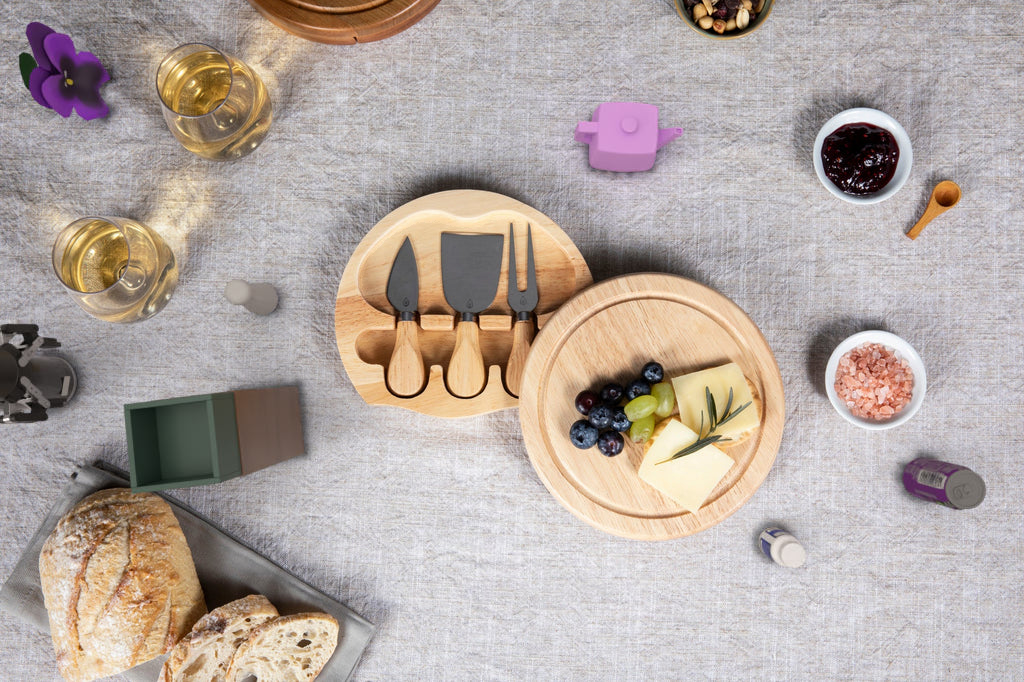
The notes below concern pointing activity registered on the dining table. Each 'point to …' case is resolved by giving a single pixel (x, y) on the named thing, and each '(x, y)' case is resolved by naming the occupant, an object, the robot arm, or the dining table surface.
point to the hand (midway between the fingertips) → (59, 373)
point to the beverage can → (944, 483)
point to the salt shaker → (252, 296)
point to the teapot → (624, 136)
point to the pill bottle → (782, 547)
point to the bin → (182, 442)
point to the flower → (62, 74)
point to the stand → (267, 426)
